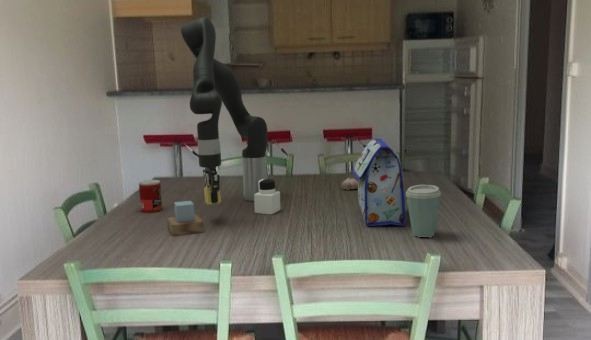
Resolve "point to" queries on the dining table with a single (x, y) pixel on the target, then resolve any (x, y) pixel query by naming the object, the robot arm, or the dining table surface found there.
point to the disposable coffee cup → (423, 209)
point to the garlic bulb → (350, 183)
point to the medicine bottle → (267, 197)
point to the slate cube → (184, 211)
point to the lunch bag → (380, 185)
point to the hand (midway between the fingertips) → (212, 200)
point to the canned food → (150, 195)
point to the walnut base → (185, 226)
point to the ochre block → (208, 195)
